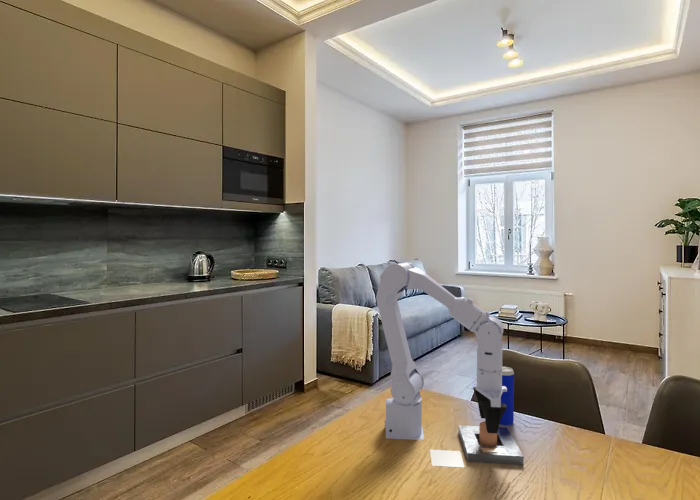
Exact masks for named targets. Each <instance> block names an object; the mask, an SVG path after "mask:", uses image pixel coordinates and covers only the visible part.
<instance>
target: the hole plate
mask: <svg viewBox="0 0 700 500" xmlns="http://www.w3.org/2000/svg"><path fill="white" fill-rule="evenodd" d="M458 435H459V439H460V442H461V444H462V448H463V452H464V455H465V458H466V461H467V463H481V464H498V465H499V464H500V465H514V466H524V465H525V463H524V460H525V459H524V455H523V453H522V451H521V449H520V447H519V446H518V443H517V442H516V440H515V439H514V436H512V433H511V431H510V430H509V428H508V427H507V426H499V428H498V432H497V446H493V445H479V425H465V424H464V425H463V424H462V425H461V424H458Z"/></svg>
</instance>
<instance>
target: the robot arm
mask: <svg viewBox="0 0 700 500" xmlns="http://www.w3.org/2000/svg"><path fill="white" fill-rule="evenodd" d="M406 289H408V290H420V291H422V292H424V293H425V294H427V295H429V296H430V298H433V299H434V300H435V301H437V302H438V303H440V304H441V305H443V306H445V307H446V308H447V309H448V313H449V316H450V317H451V318H452V319H454V320H455V321H457V322H458V323H459V324H461V325H462V326H463V327H465V328H466V329H467V330H468V331H469V332H472V333H474V334H475V337H476V339H477V349H476V384H475V386H473V387H472V389H473V392H474V394H475V397H476V401H477V404H478V406H477V407H478V410H479V411H478V412H479V416H480V418H481V419H484V422H485V423H486V429H487V432H488V433H497V432H498V428H499V427H500V421H501V418H502V416H503V414H504V412H505V411H506V409H507V406H506V404H501V395H502V392H507V388H506V387H505V386H502V366H503V341H502V340H503V334H504V325H503V323H502V321H501V320H500V319H499V318H498V317H497V316H495V315H491V312H489V311H484V310H483V309H482V308H481V307H479V306H478V305H476V304H475V303H474V299H473V298H471V297H468V298H467V297H466V296H460V297H459V296H458V297H457V296H455V295H454V294H452V293H451V292H450V291H448V290H447V289H446V288H445V287H444V286H443V285H441V284H440V283H439V282H438V281H436V280H435V279H434V278H432V277H431V276H430V275H428V274H427V273H426V272H425V271H424V270H422V269H421V268H418V266H417V267H416V266H414V265H413V263H411V262H409V261H401V262H399V263H392V264H389V265H388V266H386V268H385V269H384V270H383V272H382V273H381V274H380V275H379V285H378V289H377V293H376V295H375V296H376V297H375V298H376V299H375V300H376V304H377V308H378V312H379V317H380V320H381V323H382V328H383V333H384V337H385V341H386V345H387V350H388V353H389V358H390V361H391V372H390V379H391V385H390V394H391V396H392V397H390V398H386V399H385V420H384V428H385V438H386V439H394V440H395V439H396V440H413V441H414V440H415V441H424V440H425V435H424V428H423V424H422V423H423V421H422V419H423V417H422V416H423V409H422V408H423V398H422V395H421V392H420V391H421V390H422V389H423V387H424V384H425V380H424V376H423V375H422V374H421V372H420V371H419V369H418V366H417V363H416V362H415V360H413V359H412V354H411V351H410V347H409V342H408V337H407V333H406V331H405V330H406V329H405V326H404V323H403V318H402V314H401V311H400V307H399V302H398V300H399V299H400V297H401V295H402V294H403V292H404V291H405V290H406Z"/></svg>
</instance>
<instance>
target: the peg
mask: <svg viewBox="0 0 700 500" xmlns="http://www.w3.org/2000/svg"><path fill="white" fill-rule="evenodd" d="M478 426H479V441H478V444H479V445H493V446H498V442H497V433H488V432H487V429H486V423H485V421H480V422H479V425H478Z"/></svg>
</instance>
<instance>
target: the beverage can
mask: <svg viewBox="0 0 700 500" xmlns="http://www.w3.org/2000/svg"><path fill="white" fill-rule="evenodd" d="M502 386H505V387H506V388H507V392H502V395H501V404H506V406H507V409H506V411H505V412H504V414H503V416H502V418H501V421H500V424H499V426H504V427H507V426H512V425H513V424H514V418H515V417H514V415H515V414H514V413H515V412H514V411H515V410H514V409H515V407H514V405H515V403H514V401H515V400H514V399H515V372H514V370H513V368H512V367H509V366H505V365H504V366H503V365H502Z"/></svg>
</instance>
